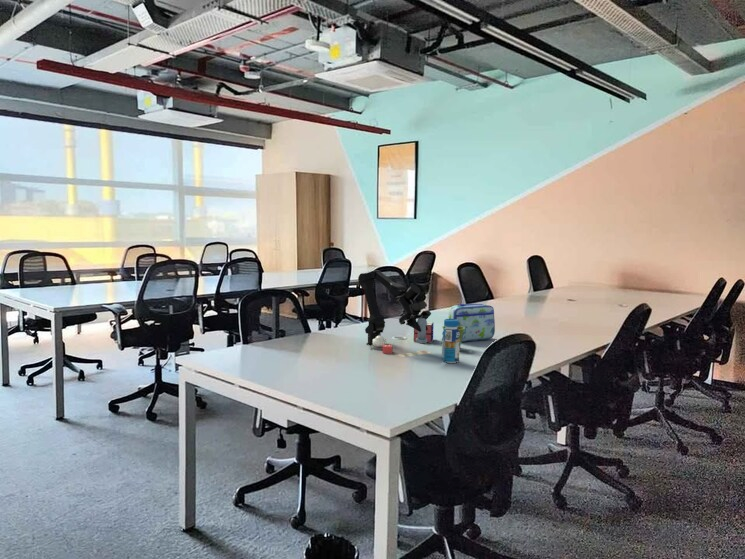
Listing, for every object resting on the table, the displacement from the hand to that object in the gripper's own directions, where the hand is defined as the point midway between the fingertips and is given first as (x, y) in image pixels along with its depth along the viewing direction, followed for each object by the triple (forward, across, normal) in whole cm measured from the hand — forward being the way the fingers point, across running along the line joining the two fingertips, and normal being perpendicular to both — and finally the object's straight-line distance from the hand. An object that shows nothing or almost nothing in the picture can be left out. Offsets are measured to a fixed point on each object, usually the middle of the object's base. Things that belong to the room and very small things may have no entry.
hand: (423, 330), depth 267 cm
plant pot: (+8, +24, +10) cm, 28 cm away
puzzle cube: (-8, +28, +26) cm, 39 cm away
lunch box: (+4, +50, +15) cm, 52 cm away
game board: (+7, -4, +10) cm, 13 cm away
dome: (-9, -8, +23) cm, 26 cm away
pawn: (+3, 0, +5) cm, 6 cm away
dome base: (-7, -8, +25) cm, 27 cm away
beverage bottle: (+20, +1, -3) cm, 21 cm away
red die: (0, -12, +18) cm, 22 cm away
